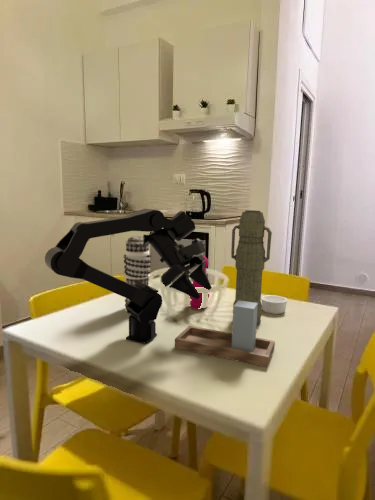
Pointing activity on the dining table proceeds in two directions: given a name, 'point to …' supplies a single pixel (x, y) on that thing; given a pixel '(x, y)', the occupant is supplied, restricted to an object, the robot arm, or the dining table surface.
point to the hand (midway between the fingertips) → (204, 293)
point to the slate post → (244, 325)
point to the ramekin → (273, 304)
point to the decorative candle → (136, 262)
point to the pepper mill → (197, 302)
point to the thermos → (250, 257)
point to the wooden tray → (223, 346)
